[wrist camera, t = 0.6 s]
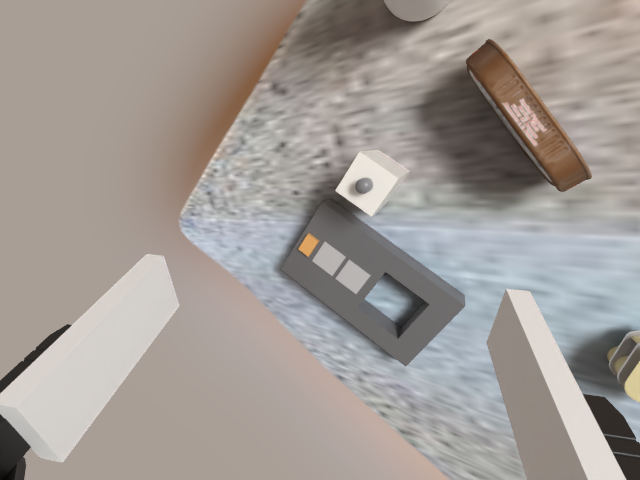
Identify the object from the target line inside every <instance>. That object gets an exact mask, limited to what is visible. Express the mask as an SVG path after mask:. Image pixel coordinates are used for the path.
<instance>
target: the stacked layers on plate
mask: <svg viewBox="0 0 640 480" xmlns="http://www.w3.org/2000/svg"><path fill="white" fill-rule="evenodd" d="M607 358H608V360H609V368H610V370H611V371H612V373H613V374H614V375H615V376H616V377H618V381H619V383H620V384H621V386H622V387H623V388H624V389H625V391H626V393H627V394H628V395H629V396H630V397H631V398H632V399H634V400H636V401H638V402H640V331H632V332H629V333H627V334H626V336H625V337H624V339H623V340H622V342H621V343H620V345H619V346H616V347H613V348H612V349H610V350H609V352H608V354H607Z"/></svg>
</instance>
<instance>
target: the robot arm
mask: <svg viewBox="0 0 640 480" xmlns="http://www.w3.org/2000/svg"><path fill="white" fill-rule="evenodd" d="M178 307H179V303H178V299H177V296H176V293H175V290H174V287H173V284H172V280H171V277H170V274H169V271H168V268H167V265H166V261H165V259H164V256H161V255H151V254H146V255H145V256H144V257H143V258H142V259H141V260H140V261H139V262H138V263H137V264H136V265H135V266H134V267H133V268H132V269H131V270H130V271H128V273H126V274H125V275H124V276H123V277H122V278H121V279H120V280H119V281H118V282H117V283H116V284H115V285H114V286H113V287H112V288H111V289H110V290H109V291H108V292H107V293H105V294H104V295H103V296H102V297H101V298H100V299H99V300H98V301H97V302H96V303H95V304H94V305H93V306H92V307H91V308H90V309H89V310H88V311H87V312H85V313H84V314H83V315H82V316H81V317H80V318H79V319H78V320H77V321H76V322H75V323H74V324H73V325H68V324H67V325H66V326H64V327H62V328H61V329H59V330H57V331H56V332H54V333H52V334H51V335H49V336H48V337H47V338H46V339H45V340H44V341H43V342H42V343H41V344H40V345H39V346H37V347H36V350H35V351H32V352H31V353H30V354H29V355H28V356H27V357H25V358H24V361H21V362H20V363H19V364H18V365H17V366H16V367H15V368H14V369H13V370H11V371H10V372H9V373H8V374H7V375H6V376H5V377H4V378H3V379H2V380H0V480H24V476H25V469H26V462H25V458H24V457H23V456H24V455H25V453H26V452H27V451H28V450H29V449H30V448H32V450H33V451H34V452H35V453H36V454H37V455H38V456H39V457H40V458H43V459H48V460H53V461H57V462H63V461H64V460H65V459H66V457H67V456H68V455H69V453H70V452H71V451H72V449H73V448H74V447H75V445H76V444H77V443H78V441H79V440H80V439H81V437H82V436H83V434H84V433H85V432H86V430H87V429H88V428H89V426H90V425H91V424H92V422H93V421H94V419H95V418H96V417H97V416H98V414H99V413H100V412H101V410H102V409H103V408H104V406H105V405H106V404H107V402H108V401H109V400H110V398H111V397H112V396H113V394H114V393H115V391H116V390H117V389H118V387H119V386H120V385H121V383H122V382H123V381H124V379H125V378H126V377H127V375H128V374H129V373H130V371H131V370H132V369H133V367H134V366H135V365H136V363H137V362H138V361H139V359H140V358H141V357H142V355H143V354H144V352H145V351H146V350H147V348H148V347H149V346H150V344H151V343H152V342H153V341H154V339H155V338H156V336H157V335H158V334H159V332H160V331H161V330H162V328H163V327H164V326H165V324H166V323H167V322H168V320H169V319H170V318H171V316H172V315H173V314H174V312H175V311H176V309H177V308H178ZM487 345H488V349H489V352H490V355H491V359H492V362H493V366H494V369H495V372H496V376H497V379H498V382H499V386H500V389H501V393H502V396H503V399H504V403H505V406H506V409H507V413H508V416H509V420H510V423H511V426H512V430H513V433H514V436H515V440H516V443H517V447H518V450H519V453H520V457H521V460H522V463H523V467H524V470H525V474H526V477H527V480H640V444H639V442H637V441H636V437H635V435H634V434H633V432H632V430H631V428H630V427H629V425H628V423H627V422H626V420H625V418H624V416H623V415H622V414H621V413H620V412H619V411H618V410H617V409H616V408H615V407H614V406H613V405H612V404H611V403H610V402H609V401H608V400H607V399H606V398H605V397H600V396H593V395H586V394H582V392H581V390H580V388H579V386H578V384H577V382H576V381H575V379H574V377H573V375H572V373H571V371H570V369H569V367H568V365H567V363H566V361H565V359H564V357H563V355H562V353H561V351H560V349H559V347H558V345H557V343H556V341H555V339H554V338H553V336H552V334H551V332H550V330H549V328H548V326H547V324H546V322H545V320H544V318H543V316H542V314H541V312H540V310H539V308H538V306H537V304H536V302H535V300H534V298H533V297H532V295H531V293H530V291H523V290H512V289H506V291H505V294H504V296H503V299H502V302H501V305H500V307H499V310H498V313H497V316H496V318H495V321H494V324H493V327H492V329H491V332H490V335H489V338H488V340H487Z"/></svg>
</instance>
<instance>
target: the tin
mask: <svg viewBox="0 0 640 480" xmlns="http://www.w3.org/2000/svg"><path fill="white" fill-rule="evenodd" d="M466 64H467V70H468V73H469V75H470V76H471V78H472V79H473V81H474V82H475V84H476V85H477V87H478V88H479V90H480V91H481V93H482V94H483V95H484V97H485V98H486V100H487V101H488V102H489V104H490V105H491V107H492V108H493V109H494V111H495V112H496V114H497V115H498V116H499V118H500V119H501V121H502V122H503V124H504V125H505V126H506V128H507V129H508V130H509V132H510V133H511V135H512V136H513V137H514V139H515V140H516V141H517V143H518V144H519V145H520V147H521V148H522V149H523V150H524V152H525V153H526V154H527V156H528V157H529V158H530V160H531V161H532V162H533V163H534V165H535V166H536V167H537V169H538V170H539V171H540V172H541V174H542V175H543V176H544V177H545V178H546V180H547V181H548V182H549V183H550V184H552V185H553V186H555V187H556V188H557V189H558V190H559V191H561V192H563V191H566V190H568V189H570V188H572V187H574V186H575V185H577V184H579V183H581V182H583V181H585V180H587V179H591V177H592V176H591V172H590V169H589V167H588V166H587V164H586V162H585V160H584V159H583V157H582V156H581V154H580V152H579V151H578V150H577V148H576V147H575V145H574V144H573V142H572V141H571V140H570V138H569V137H568V136H567V134H566V133H565V132H564V130H563V129H562V128H561V126H560V125H559V123H558V122H557V121H556V119H555V118H554V117H553V115H552V114H551V112H550V111H549V110H548V108H547V107H546V106H545V104H544V103H543V102H542V100H541V99H540V97H539V96H538V95H537V93H536V92H535V90H534V89H533V88H532V86H531V85H530V84H529V82H528V81H527V79H526V78H525V77H524V75H523V74H522V73H521V71H520V70H519V69H518V67H517V66H516V65H515V63H514V62H513V61H512V60H511V59H510V57H509V56H508V55H507V54H506V53H505V52H504V51H503V50H502V48H501V47H500V46H499V45H498V44H497V43H495V42H494V41H493V40H491V39H488V40H487V41H486V43H485V44H484V45H482V46H481V47H480V48H479V49H478V50H477V51H475V52H474V53H473V54H472V55H471V56H470V57H469V58H468V59H467V60H466Z"/></svg>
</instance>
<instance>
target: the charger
mask: <svg viewBox="0 0 640 480" xmlns="http://www.w3.org/2000/svg"><path fill="white" fill-rule="evenodd" d="M409 172H410V171H409V170H407V169H406V168H405V167H403V166H402V165H400V164H399V163H397V162H396V161H394V160H393V159H391V158H390V157H388V156H387V155H385V154H384V153H382V152H381V151H379V150H372V151H362V152H359V154H358V155H357V157H356V158H355V160H354V161H353V163H352V165H351V166H350V168H349V169H348V171H347V173H346V174H345V176H344V177H343V179H342V181H341V182H340V184H339V185H338V187H337V189H336V190H335V191H336V192H338V193H339V194H340V195H342V196H343V197H345V198H346V199H347V200H349V201H350V202H352V203H353V204H354V205H356V206H357V207H359V208H360V209H361V210H363V211H364V212H366V213H367V214H368V215H370V216H371V217H372V216H373V215H374V214H375V213H376V212H377V211H379V210H380V209H381V208H382V207H383V206H384V205H385V204H386V203H387V202H388V201H389V200H390V198H391V197H392V195H393V194H394V193H395V191H396V190H397V188H398V187H399V186H400V184H401V183H402V181H403V180H404V179H405V177H406V176H407V174H408V173H409Z"/></svg>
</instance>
